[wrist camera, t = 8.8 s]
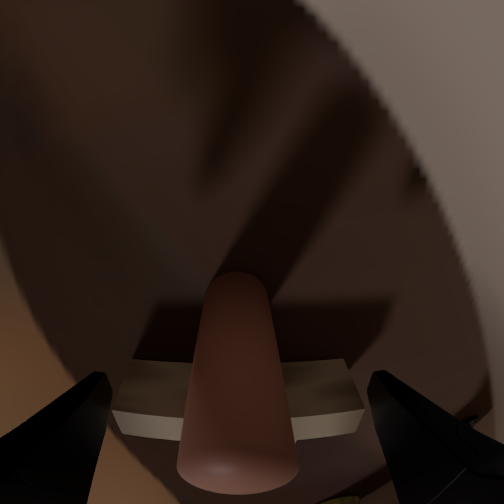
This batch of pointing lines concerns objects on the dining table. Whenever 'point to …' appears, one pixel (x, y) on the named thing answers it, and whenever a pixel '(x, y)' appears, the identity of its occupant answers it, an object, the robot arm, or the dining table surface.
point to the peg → (237, 395)
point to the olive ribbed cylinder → (343, 500)
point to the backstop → (296, 385)
